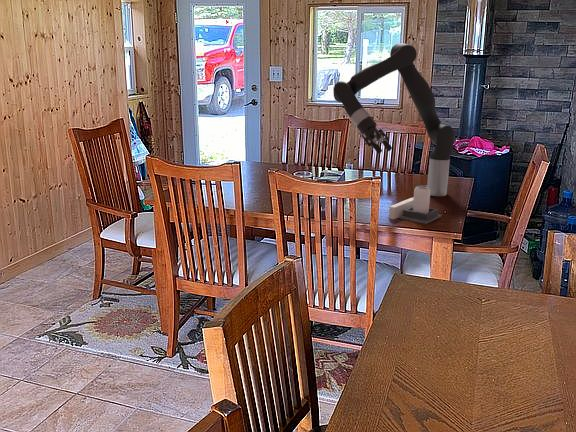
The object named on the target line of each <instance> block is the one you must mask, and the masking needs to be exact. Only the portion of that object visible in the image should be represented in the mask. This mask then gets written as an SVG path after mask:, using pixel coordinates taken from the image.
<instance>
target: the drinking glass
mask: <svg viewBox="0 0 576 432" xmlns="http://www.w3.org/2000/svg"><path fill="white" fill-rule="evenodd" d="M316 180H317V181H326V182H334V183H335V181H333V180H331V179H325V178H322V179H321V178H317V179H316ZM310 201H311V209H312V208H313V199H312V197H311V196H310ZM321 207H322V209H324V208H325V199H324V198H321Z"/></svg>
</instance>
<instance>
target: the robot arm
mask: <svg viewBox="0 0 576 432" xmlns="http://www.w3.org/2000/svg"><path fill="white" fill-rule="evenodd" d="M389 54H390V55H389V57H388V58H386V59H383V60H382V61H380V62H378V63H375V64H374V63H373V64H372V65H369V66H367V67H365V68H363V69H361V70H360V71H358V72H357V73H355V74H353V75H352V76H351V77H350V80H349V81H347V82H346V81H343V80H341V81H337V82H336V83H335V84H334V86H333V89H332V90H333V98H334V100H335V101H336V102H337V103H341V104H342V106H343V108H344V111H345V112H346V114H347V115H348V117H349V118H350V119H351V121H352V123H353V125H354V126H355V128H356V129H357V130H358V131H359V132H360V134H361V138H363V140H364V142H365V143H366V144H367V146H368V147H369V148H370V147H372V148H373V149H374V150H375V152H376V153H377V154H378V155H379V154H382V152H383V149H382V147H380V145H379V144H378V143H381V144H382V145H383V147H384V148H385V149H386V150H387V152H390V151H391V150H392V149H393V146H391V144H390V142H389V140H390V138H389V136H388V135H387V134H386V132H385V131H384V130H383V129H382V128H380V129H379V130H378V129H377V126H378V125H377V123H376V121H375V120H374V118H373V117H372V116H371V115H370V113H369V112H368V111H367V109H366V108H365V107H364V106H363V105H362V103H361V102H360V101H359V100H358V98H357V96H356V94H357V93H359V92H360V91H361V90H363V89H365V88H366V87H368V86H370V85H371V84H373V83H375V82H376V81H379V80H381V78H383V77H385V76H387V75H389V74H391V73H394V72H396V71H398V72H399V74H400V76H401V78H402V81H403V82H404V85H405V87H406V89H407V91H408V93H409V95H410V98H411V100H412V102H413V104H414V106H415V108H416V110H417V112H418V114H419V116H420V117H421V120H422V122H423V125H424V127H425V130H426V133H427V135H428V138H429V139H430V141H431V142H432V143H434V144H435V148H434V150H433V151H431V152H430V153H429V162H428V163H429V164H428V171H427V172H428V174H427V175H428V176H427V185H426V186H429V187H430V197H431V196H433V197H445V196H447V193H448V182H449V173H450V162H451V156H452V154H453V150H454V143H455V129H454V128H453V127H452V126H450V125H449V124H445V123H442V121H441V120H440V118H439V116H438V114H437V111H436V99H435V96H434V92H433V90H432V87H431V86H430V84H429V83H428V81H427V80H426V79H425V78H424V77H423V75H422V73H420V72H419V70H418V69H417V67H416V65H415V64H414V63H415V61H416V59H417V55H418V52H417V49H416V47H414V46H413V45H411V44H408V43H402V42H401V43H399V42H398V43H395V44H394V45H393V46H392V47H391V49H390V53H389Z"/></svg>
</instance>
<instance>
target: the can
mask: <svg viewBox="0 0 576 432" xmlns="http://www.w3.org/2000/svg"><path fill="white" fill-rule="evenodd" d="M413 198H414V200H413V211H415V212H420V213H425V214H426V213H429V208H430V203H431V201H430V200H431V195H430V187H429V186H427V185H425V184H424V185H422V184H418V185H415V188H414V191H413Z"/></svg>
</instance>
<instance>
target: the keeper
mask: <svg viewBox="0 0 576 432" xmlns="http://www.w3.org/2000/svg"><path fill="white" fill-rule="evenodd" d="M441 217H442V214H441V213H439V209H438V208H433V207H429V213H426V214H425V213H420V212H415V211H413V206H412V207H409V208H407V209H405V210H404V212H403V215H401V216H399V217H398V219H400V220H401V219H402V220H406V221H411V222H415V223H418V224H419V223H420V224H424V225H427V224H429V223H431V222H433V221H435V220H437V219H439V218H441Z"/></svg>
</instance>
